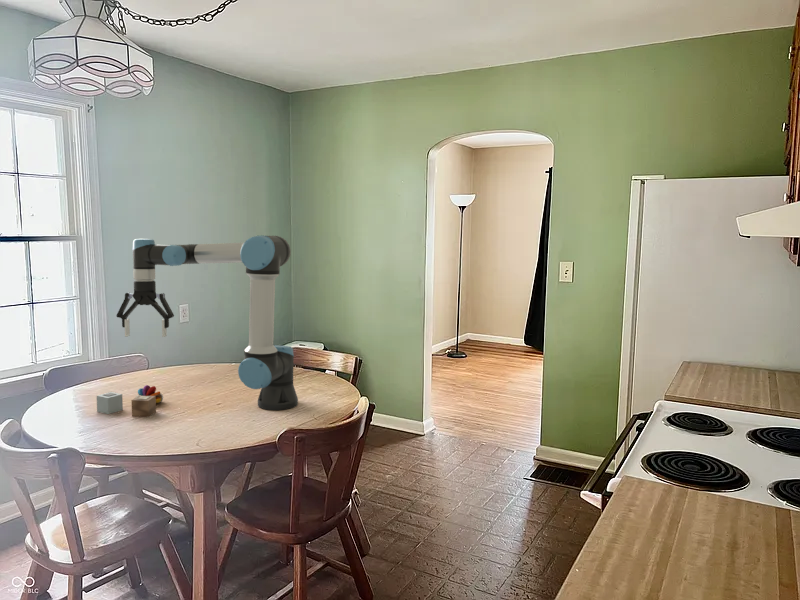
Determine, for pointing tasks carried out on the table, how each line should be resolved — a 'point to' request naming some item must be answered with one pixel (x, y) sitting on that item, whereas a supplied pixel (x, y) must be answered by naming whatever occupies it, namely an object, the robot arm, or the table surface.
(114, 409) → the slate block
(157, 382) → the table surface
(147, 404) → the walnut block
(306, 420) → the table surface
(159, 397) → the rainbow segmented toy
